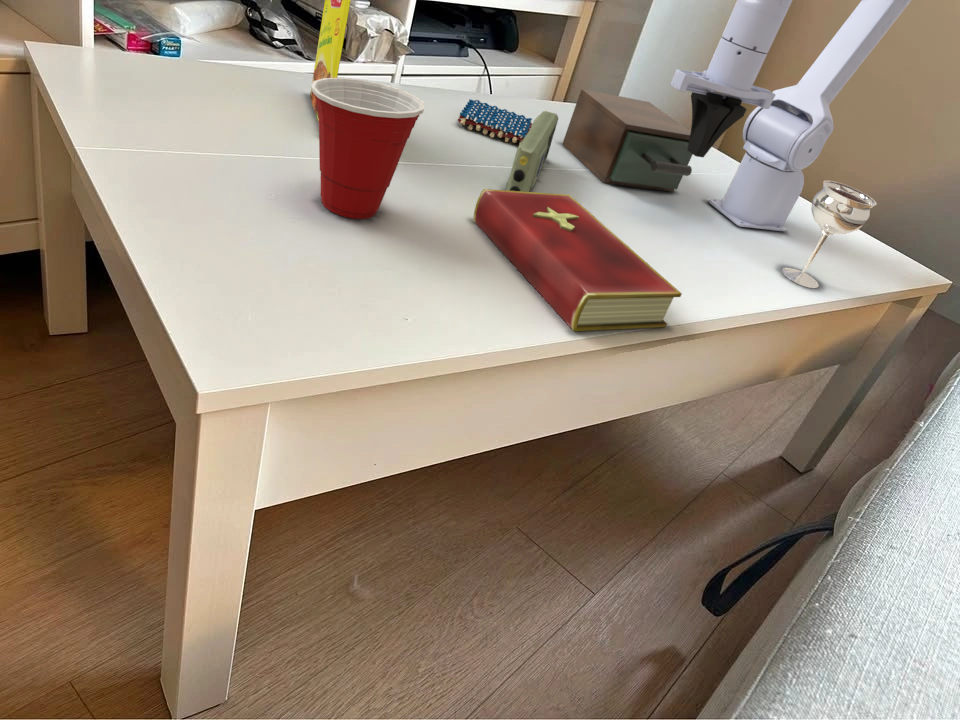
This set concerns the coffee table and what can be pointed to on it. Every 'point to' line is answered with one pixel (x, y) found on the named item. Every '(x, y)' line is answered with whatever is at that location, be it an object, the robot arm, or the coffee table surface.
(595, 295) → the hardcover book
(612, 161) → the cabinet
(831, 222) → the wineglass
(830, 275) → the coffee table surface
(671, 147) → the drawer
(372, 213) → the plastic cup
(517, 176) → the handheld radio
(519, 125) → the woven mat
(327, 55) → the food package
